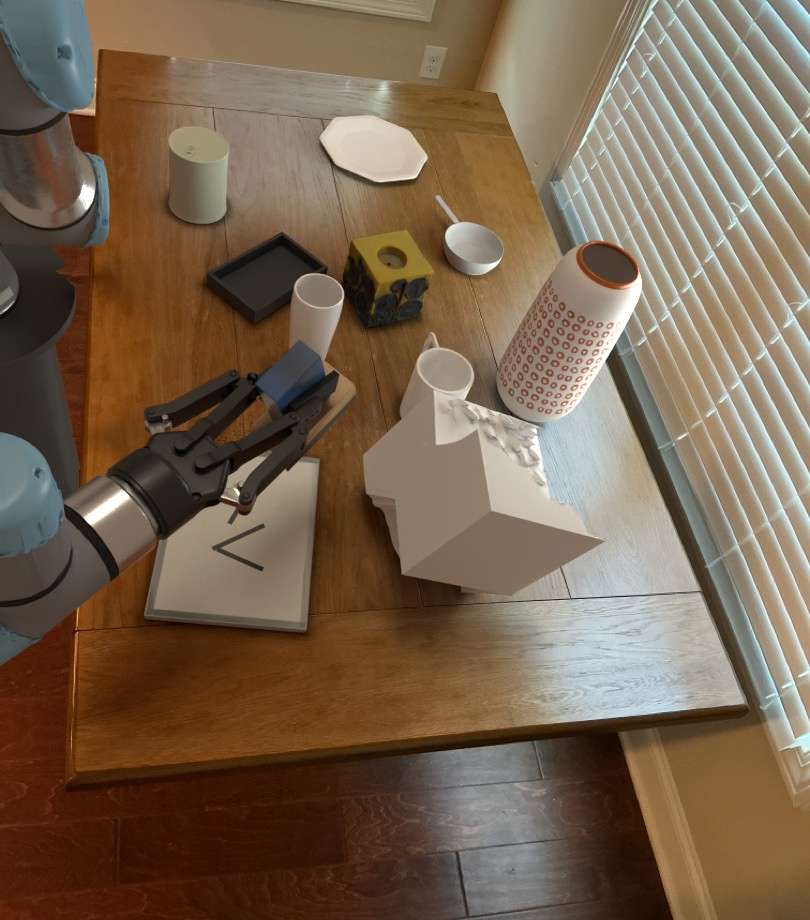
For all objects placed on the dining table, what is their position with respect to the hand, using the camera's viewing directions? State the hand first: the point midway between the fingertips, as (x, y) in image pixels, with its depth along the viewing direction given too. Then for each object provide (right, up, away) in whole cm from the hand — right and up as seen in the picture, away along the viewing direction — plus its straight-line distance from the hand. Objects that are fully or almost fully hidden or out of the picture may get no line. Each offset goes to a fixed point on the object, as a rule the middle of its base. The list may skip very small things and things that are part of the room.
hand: (321, 370), depth 76 cm
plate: (+2, +50, +69) cm, 85 cm away
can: (-26, +33, +49) cm, 64 cm away
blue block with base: (-2, -5, +6) cm, 8 cm away
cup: (+11, -1, +36) cm, 38 cm away
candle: (+4, +17, +46) cm, 49 cm away
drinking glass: (-6, +5, +35) cm, 36 cm away
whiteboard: (-12, -18, +17) cm, 28 cm away
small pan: (+18, +29, +59) cm, 69 cm away
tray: (-13, +19, +43) cm, 49 cm away
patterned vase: (+28, 0, +42) cm, 50 cm away
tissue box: (+13, -20, +24) cm, 34 cm away
